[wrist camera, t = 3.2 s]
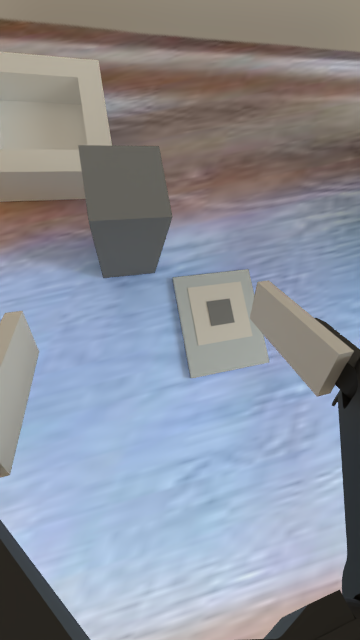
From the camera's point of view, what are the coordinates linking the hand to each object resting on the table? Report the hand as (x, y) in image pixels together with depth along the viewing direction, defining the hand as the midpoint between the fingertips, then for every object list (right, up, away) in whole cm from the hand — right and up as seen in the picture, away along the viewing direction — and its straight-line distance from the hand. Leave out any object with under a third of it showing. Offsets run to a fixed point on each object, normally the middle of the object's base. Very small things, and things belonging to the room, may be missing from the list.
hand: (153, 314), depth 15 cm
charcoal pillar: (-5, +8, +16) cm, 18 cm away
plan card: (+6, 0, +17) cm, 18 cm away
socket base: (-14, +21, +16) cm, 30 cm away
